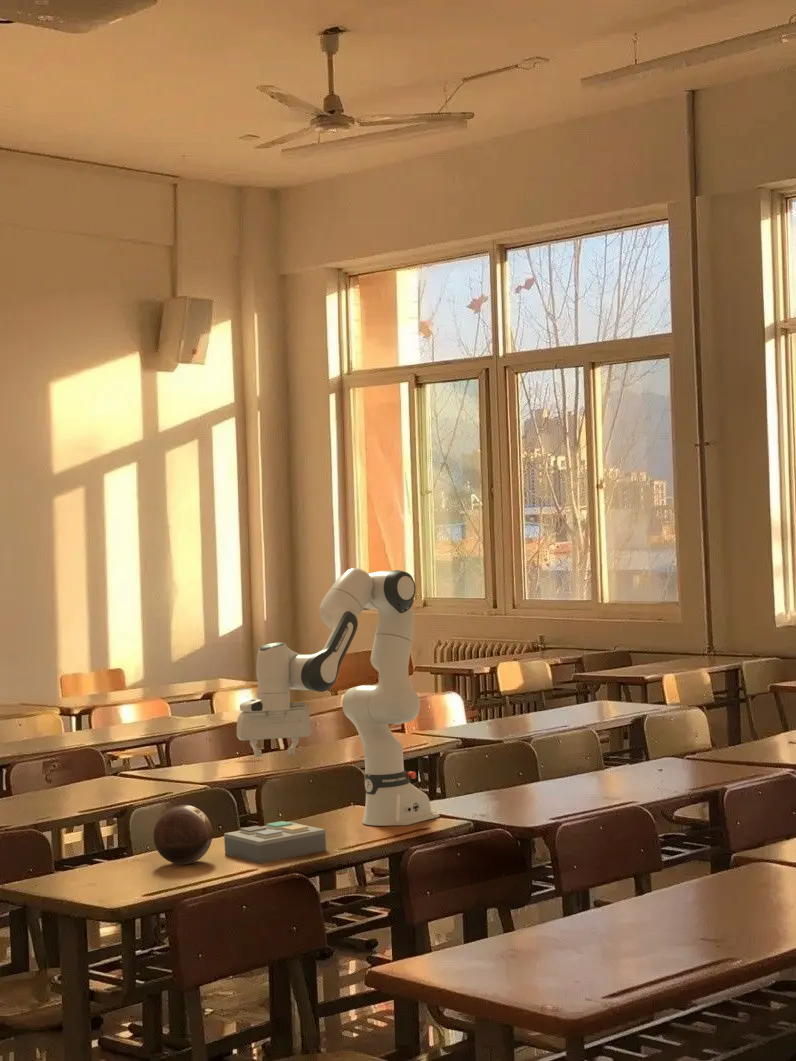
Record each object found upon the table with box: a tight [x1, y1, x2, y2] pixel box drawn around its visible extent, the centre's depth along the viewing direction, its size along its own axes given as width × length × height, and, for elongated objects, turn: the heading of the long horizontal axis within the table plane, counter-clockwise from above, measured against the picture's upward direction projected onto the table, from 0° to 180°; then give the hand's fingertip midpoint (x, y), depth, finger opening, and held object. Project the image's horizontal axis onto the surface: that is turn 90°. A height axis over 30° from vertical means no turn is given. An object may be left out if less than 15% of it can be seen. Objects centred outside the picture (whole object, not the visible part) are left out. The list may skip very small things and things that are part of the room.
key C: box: [265, 820, 292, 830], centre depth 398 cm, size 5×5×3 cm
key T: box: [282, 823, 309, 834], centre depth 392 cm, size 5×5×3 cm
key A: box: [256, 829, 282, 839], centre depth 387 cm, size 5×5×3 cm
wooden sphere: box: [152, 804, 213, 865], centre depth 385 cm, size 15×15×15 cm
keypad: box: [223, 821, 327, 864], centre depth 393 cm, size 20×18×6 cm
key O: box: [239, 825, 266, 835], centre depth 394 cm, size 5×5×3 cm
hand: (274, 755), depth 400 cm, fingers open, 8 cm apart
